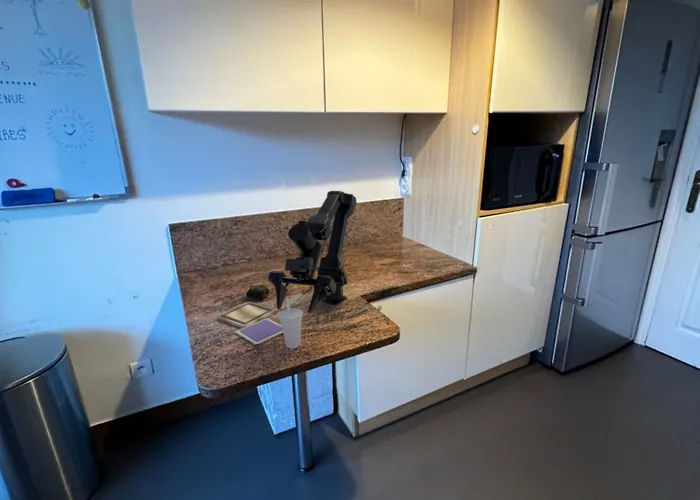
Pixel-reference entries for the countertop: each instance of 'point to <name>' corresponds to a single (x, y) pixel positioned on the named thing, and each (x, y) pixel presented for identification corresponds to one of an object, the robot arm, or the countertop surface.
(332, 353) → the countertop surface
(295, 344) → the smoothie
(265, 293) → the tape measure
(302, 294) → the chef's knife
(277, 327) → the ink pad
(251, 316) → the board
